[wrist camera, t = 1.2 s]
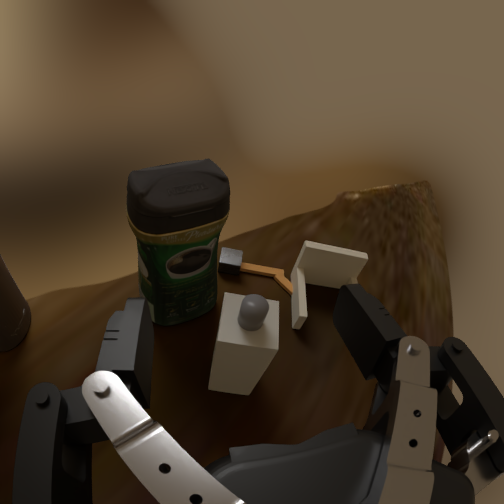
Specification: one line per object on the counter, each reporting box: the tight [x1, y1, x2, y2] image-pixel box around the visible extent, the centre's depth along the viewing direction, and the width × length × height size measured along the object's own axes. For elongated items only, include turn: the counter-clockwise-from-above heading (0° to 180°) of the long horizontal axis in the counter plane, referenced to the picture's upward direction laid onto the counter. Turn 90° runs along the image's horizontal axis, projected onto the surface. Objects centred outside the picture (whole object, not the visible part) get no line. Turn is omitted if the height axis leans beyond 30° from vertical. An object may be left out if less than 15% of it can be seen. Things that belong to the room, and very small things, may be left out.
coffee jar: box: [126, 159, 230, 326], centre depth 29 cm, size 10×8×19 cm
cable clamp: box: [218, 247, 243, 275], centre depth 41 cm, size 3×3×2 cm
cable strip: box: [240, 262, 293, 296], centre depth 40 cm, size 10×5×1 cm, turn 86°
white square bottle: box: [208, 292, 279, 395], centre depth 25 cm, size 4×4×14 cm
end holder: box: [291, 241, 368, 329], centre depth 37 cm, size 10×9×7 cm
